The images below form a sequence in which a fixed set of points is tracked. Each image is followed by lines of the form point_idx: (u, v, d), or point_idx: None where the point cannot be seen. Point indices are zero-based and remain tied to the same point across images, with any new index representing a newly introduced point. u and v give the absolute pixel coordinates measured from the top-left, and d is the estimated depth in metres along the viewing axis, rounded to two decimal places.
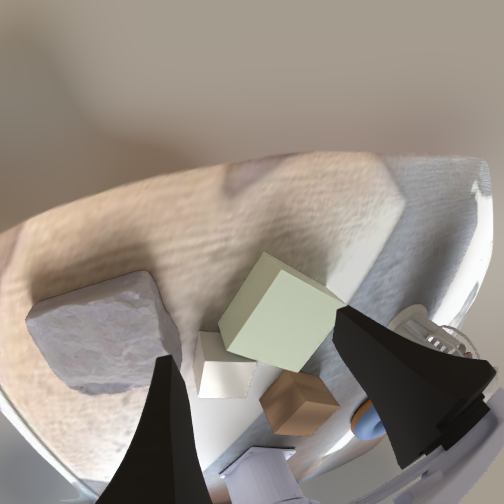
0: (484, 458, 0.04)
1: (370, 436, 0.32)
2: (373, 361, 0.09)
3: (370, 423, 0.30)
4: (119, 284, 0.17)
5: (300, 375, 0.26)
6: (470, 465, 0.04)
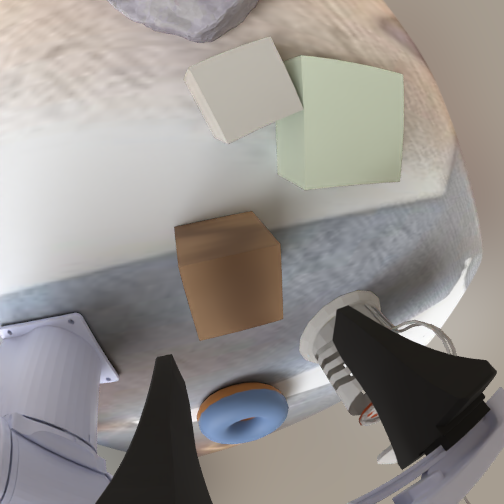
0: (484, 458, 0.04)
1: (218, 433, 0.24)
2: (373, 361, 0.09)
3: (239, 412, 0.23)
4: None
5: None
6: (470, 465, 0.04)
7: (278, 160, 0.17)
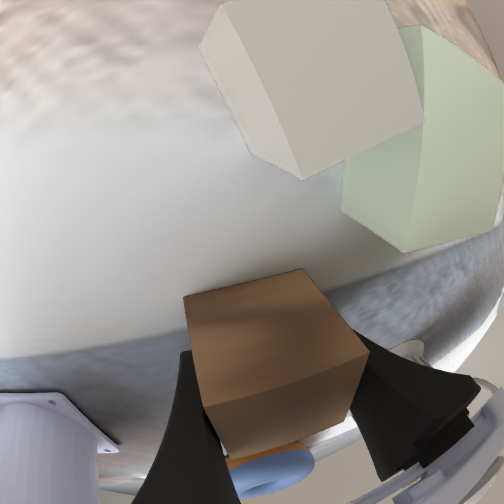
0: (484, 458, 0.04)
1: (237, 494, 0.18)
2: None
3: (263, 478, 0.17)
4: None
5: None
6: (470, 465, 0.04)
7: (345, 189, 0.10)
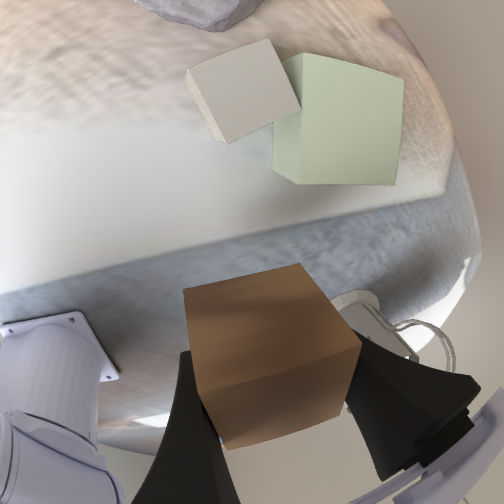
0: (484, 458, 0.04)
1: None
2: None
3: None
4: None
5: None
6: (470, 465, 0.04)
7: (273, 156, 0.17)
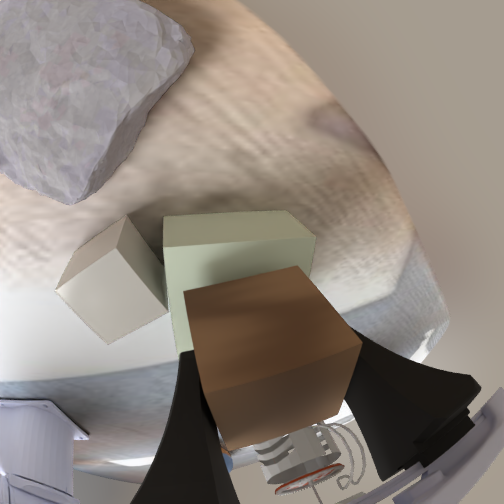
0: (484, 458, 0.04)
1: None
2: None
3: None
4: None
5: None
6: (470, 465, 0.04)
7: None
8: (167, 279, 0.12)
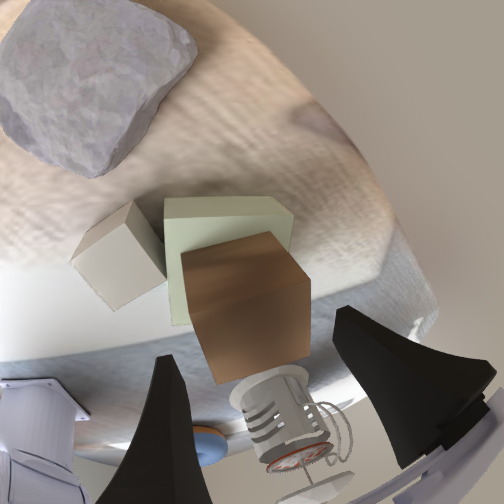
0: (484, 458, 0.04)
1: None
2: (373, 361, 0.09)
3: None
4: None
5: None
6: (470, 465, 0.04)
7: None
8: (166, 247, 0.14)
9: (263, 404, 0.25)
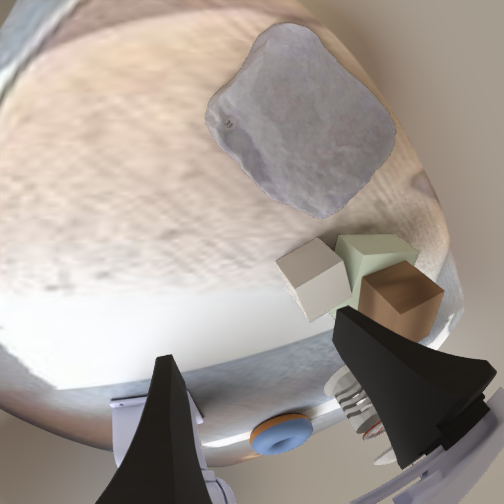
0: (484, 458, 0.04)
1: (266, 449, 0.33)
2: (373, 361, 0.09)
3: (283, 435, 0.32)
4: None
5: None
6: (470, 465, 0.04)
7: None
8: (358, 273, 0.21)
9: (359, 384, 0.31)
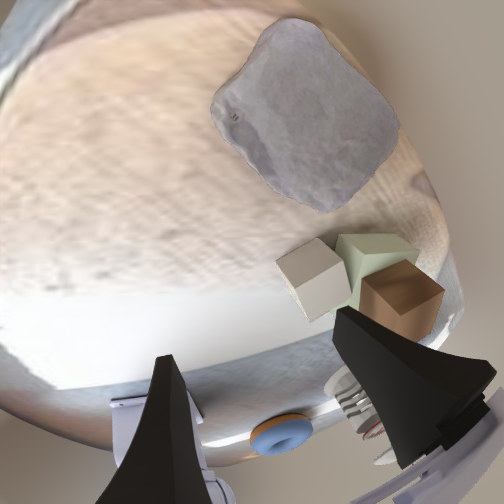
0: (484, 458, 0.04)
1: (266, 449, 0.33)
2: (373, 361, 0.09)
3: (283, 435, 0.32)
4: None
5: None
6: (470, 465, 0.04)
7: None
8: (359, 272, 0.20)
9: (359, 384, 0.31)
